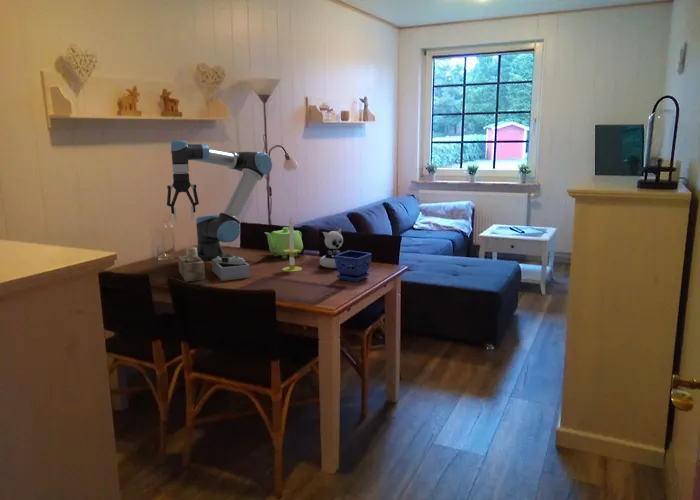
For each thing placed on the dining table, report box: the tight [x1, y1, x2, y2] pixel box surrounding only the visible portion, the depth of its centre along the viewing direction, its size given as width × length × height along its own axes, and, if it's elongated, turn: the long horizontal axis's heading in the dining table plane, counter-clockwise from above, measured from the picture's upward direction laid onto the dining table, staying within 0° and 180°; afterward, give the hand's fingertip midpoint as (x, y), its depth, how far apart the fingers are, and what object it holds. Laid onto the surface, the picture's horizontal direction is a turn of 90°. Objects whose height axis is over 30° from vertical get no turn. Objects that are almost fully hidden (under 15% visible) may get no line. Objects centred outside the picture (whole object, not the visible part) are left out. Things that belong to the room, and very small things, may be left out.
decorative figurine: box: [319, 226, 344, 269], centre depth 283 cm, size 15×15×20 cm
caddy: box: [211, 256, 251, 281], centre depth 268 cm, size 14×20×6 cm, turn 25°
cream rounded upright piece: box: [185, 246, 198, 263], centre depth 261 cm, size 5×5×8 cm
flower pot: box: [334, 249, 373, 283], centre depth 260 cm, size 13×13×12 cm
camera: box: [215, 252, 246, 267], centre depth 269 cm, size 16×9×10 cm, turn 74°
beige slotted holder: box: [177, 254, 206, 282], centre depth 266 cm, size 9×20×8 cm, turn 25°
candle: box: [281, 217, 303, 273], centre depth 275 cm, size 10×10×27 cm
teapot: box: [263, 226, 304, 260], centre depth 308 cm, size 25×22×16 cm
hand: (183, 219), depth 273 cm, fingers open, 8 cm apart
